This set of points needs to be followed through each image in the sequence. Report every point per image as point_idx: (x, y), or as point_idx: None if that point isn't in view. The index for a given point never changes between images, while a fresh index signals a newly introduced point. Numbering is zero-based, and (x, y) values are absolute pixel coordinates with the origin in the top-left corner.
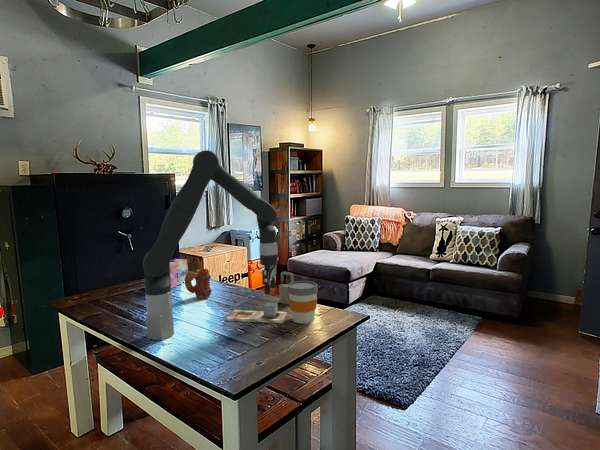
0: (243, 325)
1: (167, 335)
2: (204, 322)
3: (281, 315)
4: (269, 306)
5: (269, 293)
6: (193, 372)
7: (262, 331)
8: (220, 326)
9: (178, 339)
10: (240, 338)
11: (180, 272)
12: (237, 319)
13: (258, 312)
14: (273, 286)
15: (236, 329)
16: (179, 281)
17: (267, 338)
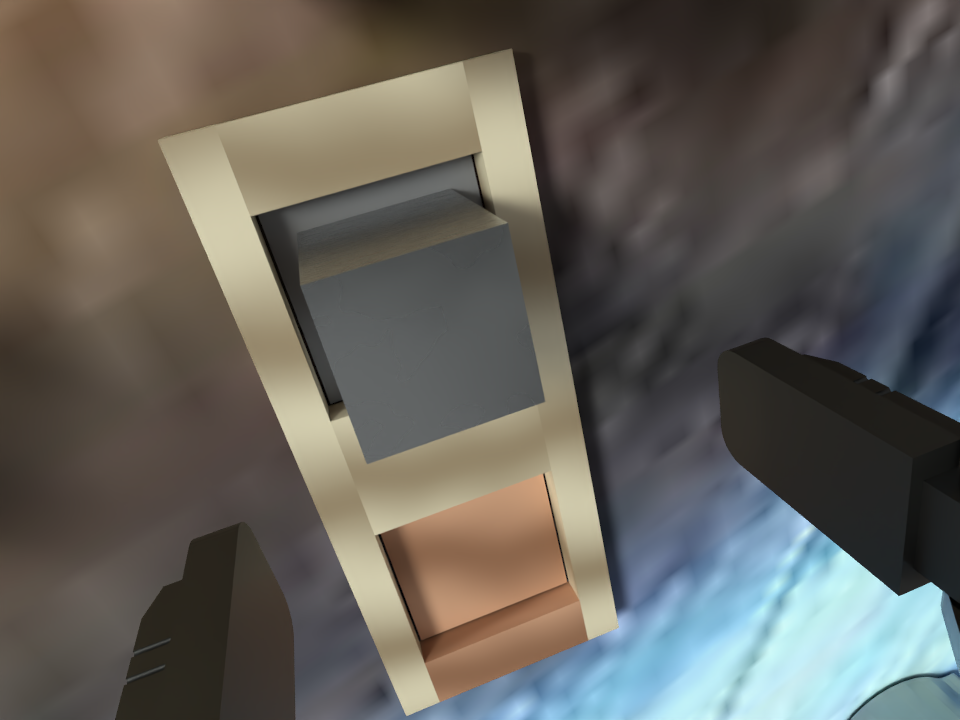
0: (663, 425)
1: (942, 689)
2: (670, 706)
3: (340, 153)
4: (524, 311)
5: (757, 348)
6: None
7: (764, 166)
8: (718, 567)
9: (936, 619)
10: (917, 273)
11: None
12: (600, 541)
13: (366, 486)
14: (255, 571)
15: None
16: None
17: (912, 17)
